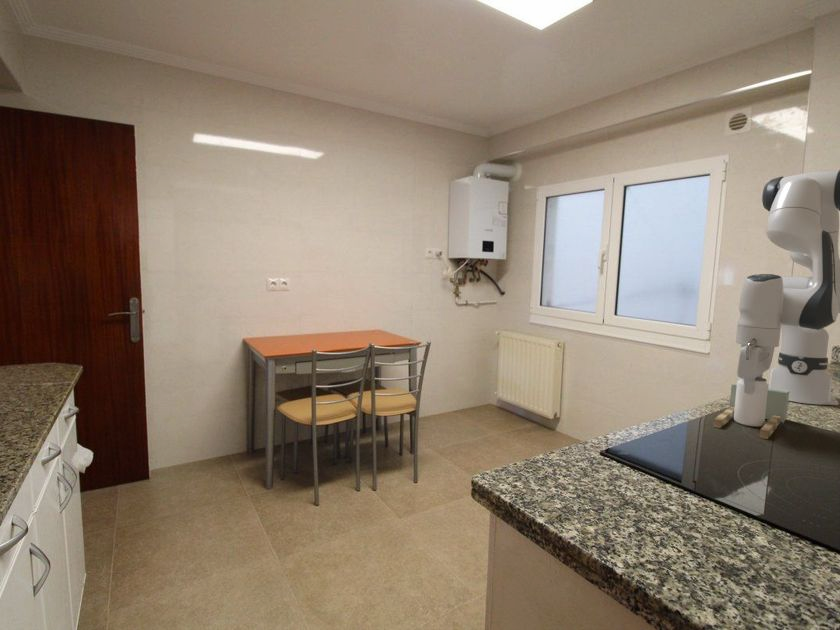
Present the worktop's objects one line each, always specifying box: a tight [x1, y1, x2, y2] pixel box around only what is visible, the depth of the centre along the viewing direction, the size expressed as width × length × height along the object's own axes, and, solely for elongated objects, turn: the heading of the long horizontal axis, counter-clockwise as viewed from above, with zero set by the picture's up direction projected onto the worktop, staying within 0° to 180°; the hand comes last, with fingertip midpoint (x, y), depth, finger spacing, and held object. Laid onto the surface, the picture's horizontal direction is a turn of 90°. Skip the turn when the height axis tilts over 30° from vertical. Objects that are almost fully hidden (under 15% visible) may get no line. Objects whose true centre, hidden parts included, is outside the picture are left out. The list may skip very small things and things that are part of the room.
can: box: [733, 377, 769, 428], centre depth 115 cm, size 6×6×12 cm
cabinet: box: [729, 381, 789, 424], centre depth 122 cm, size 5×12×8 cm, turn 43°
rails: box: [712, 406, 781, 440], centre depth 114 cm, size 17×11×2 cm, turn 133°
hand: (752, 390), depth 115 cm, fingers closed on can, 6 cm apart
